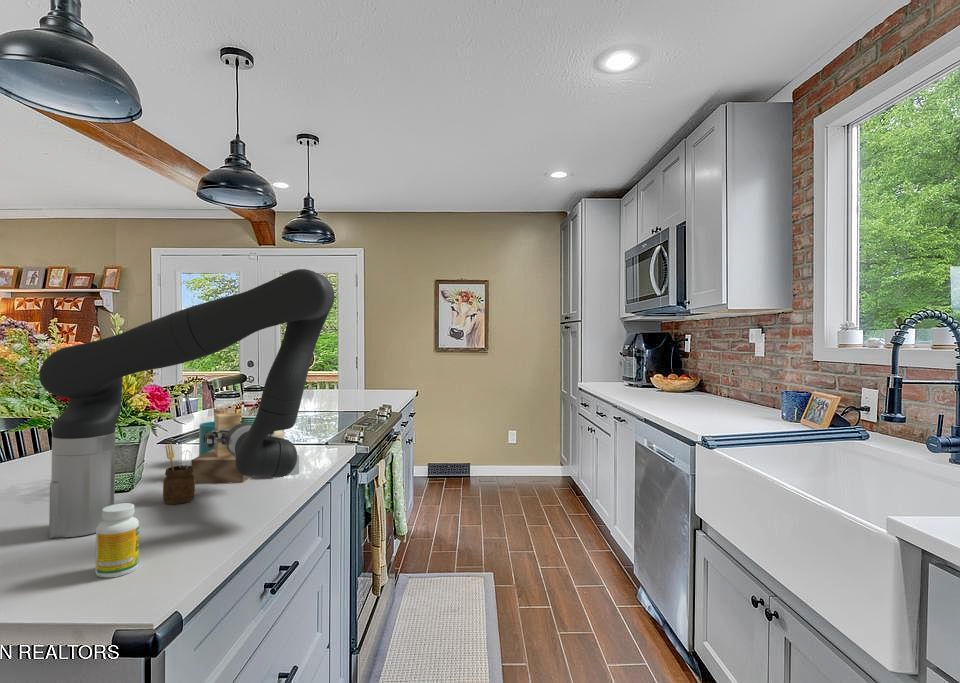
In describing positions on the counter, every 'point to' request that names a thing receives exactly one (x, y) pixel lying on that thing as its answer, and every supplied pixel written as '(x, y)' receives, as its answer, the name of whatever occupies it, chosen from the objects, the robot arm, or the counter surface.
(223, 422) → the oak pillar
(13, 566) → the counter surface
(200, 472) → the walnut block
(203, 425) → the cup
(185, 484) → the utensil holder
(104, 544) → the supplement bottle
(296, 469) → the grey block
